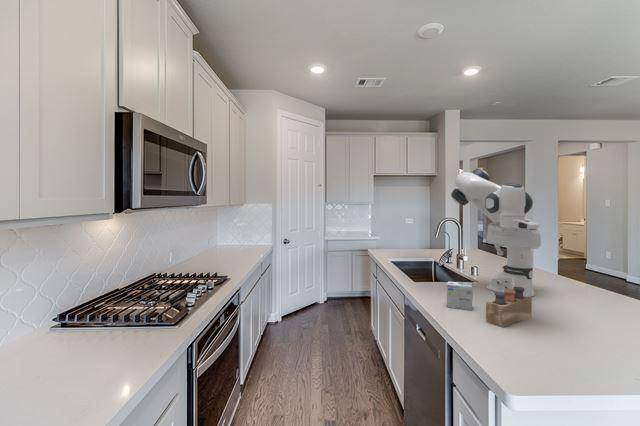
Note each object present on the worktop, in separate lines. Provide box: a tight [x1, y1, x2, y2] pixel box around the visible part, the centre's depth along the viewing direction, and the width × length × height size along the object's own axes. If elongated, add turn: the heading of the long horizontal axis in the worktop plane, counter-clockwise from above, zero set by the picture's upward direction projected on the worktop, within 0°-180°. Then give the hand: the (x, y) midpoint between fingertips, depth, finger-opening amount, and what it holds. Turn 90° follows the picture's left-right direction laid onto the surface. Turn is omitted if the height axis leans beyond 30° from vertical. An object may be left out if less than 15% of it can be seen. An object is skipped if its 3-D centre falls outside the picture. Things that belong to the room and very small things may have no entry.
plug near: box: [493, 291, 506, 305], centre depth 128 cm, size 4×4×8 cm
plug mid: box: [504, 289, 515, 302], centre depth 132 cm, size 4×4×8 cm
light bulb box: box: [446, 281, 473, 311], centre depth 148 cm, size 11×7×11 cm, turn 65°
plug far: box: [513, 287, 524, 300], centre depth 135 cm, size 4×4×8 cm
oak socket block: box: [485, 296, 533, 328], centre depth 132 cm, size 7×21×8 cm, turn 121°
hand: (511, 256), depth 131 cm, fingers open, 8 cm apart
